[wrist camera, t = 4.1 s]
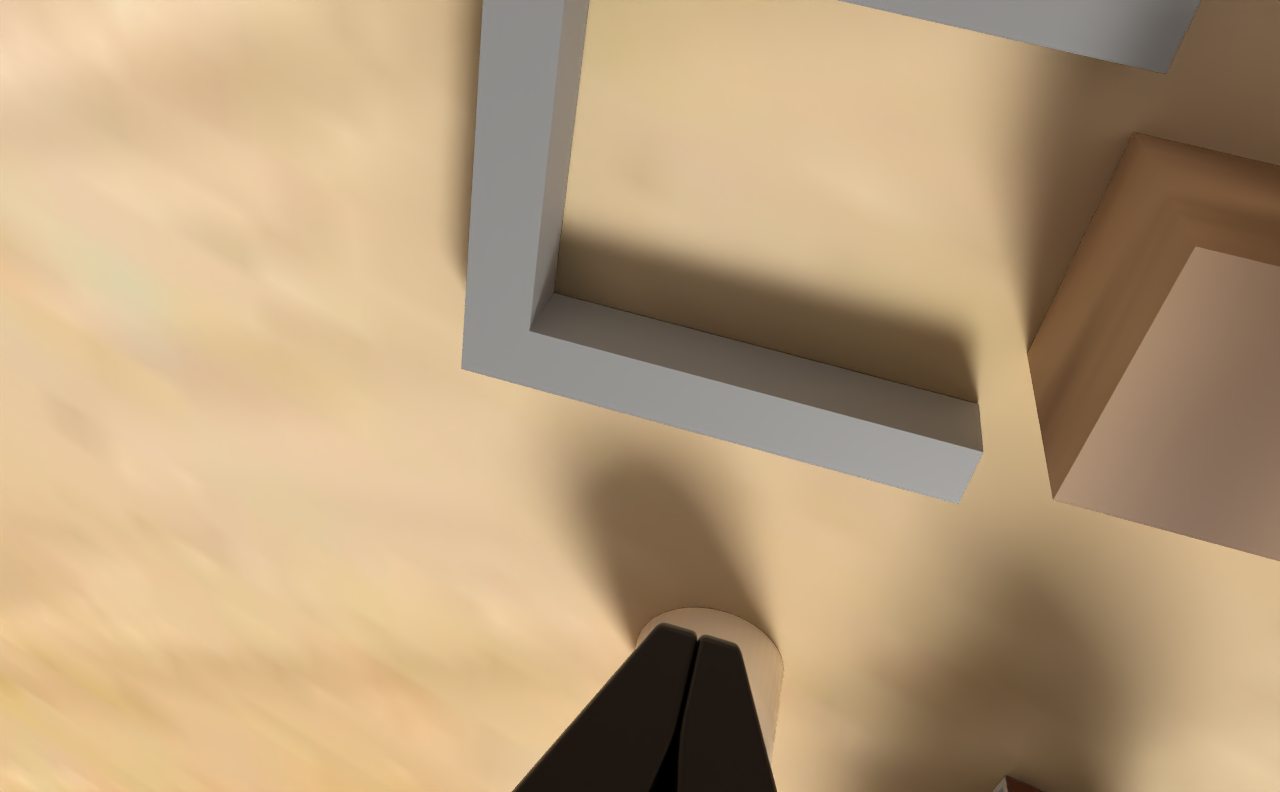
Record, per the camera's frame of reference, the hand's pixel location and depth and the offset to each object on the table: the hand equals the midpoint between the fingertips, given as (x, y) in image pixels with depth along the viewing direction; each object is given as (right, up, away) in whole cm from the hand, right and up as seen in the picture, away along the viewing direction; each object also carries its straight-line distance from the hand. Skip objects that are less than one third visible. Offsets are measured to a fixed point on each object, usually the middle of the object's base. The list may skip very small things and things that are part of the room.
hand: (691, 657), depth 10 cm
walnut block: (+11, +5, +9) cm, 15 cm away
